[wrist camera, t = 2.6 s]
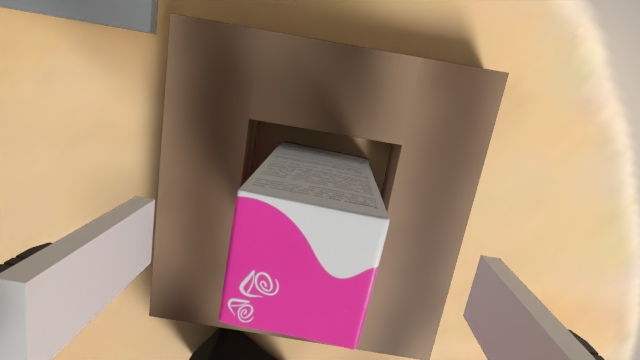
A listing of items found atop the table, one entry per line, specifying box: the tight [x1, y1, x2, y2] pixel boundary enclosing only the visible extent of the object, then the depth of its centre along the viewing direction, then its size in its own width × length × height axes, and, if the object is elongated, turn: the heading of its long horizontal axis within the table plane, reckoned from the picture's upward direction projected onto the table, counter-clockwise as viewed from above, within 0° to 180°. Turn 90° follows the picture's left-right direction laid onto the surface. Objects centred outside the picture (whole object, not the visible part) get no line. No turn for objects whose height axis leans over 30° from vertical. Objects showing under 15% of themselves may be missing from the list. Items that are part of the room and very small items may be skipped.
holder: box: [149, 13, 509, 360], centre depth 24 cm, size 18×18×3 cm
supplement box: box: [219, 141, 390, 349], centre depth 20 cm, size 6×6×12 cm
